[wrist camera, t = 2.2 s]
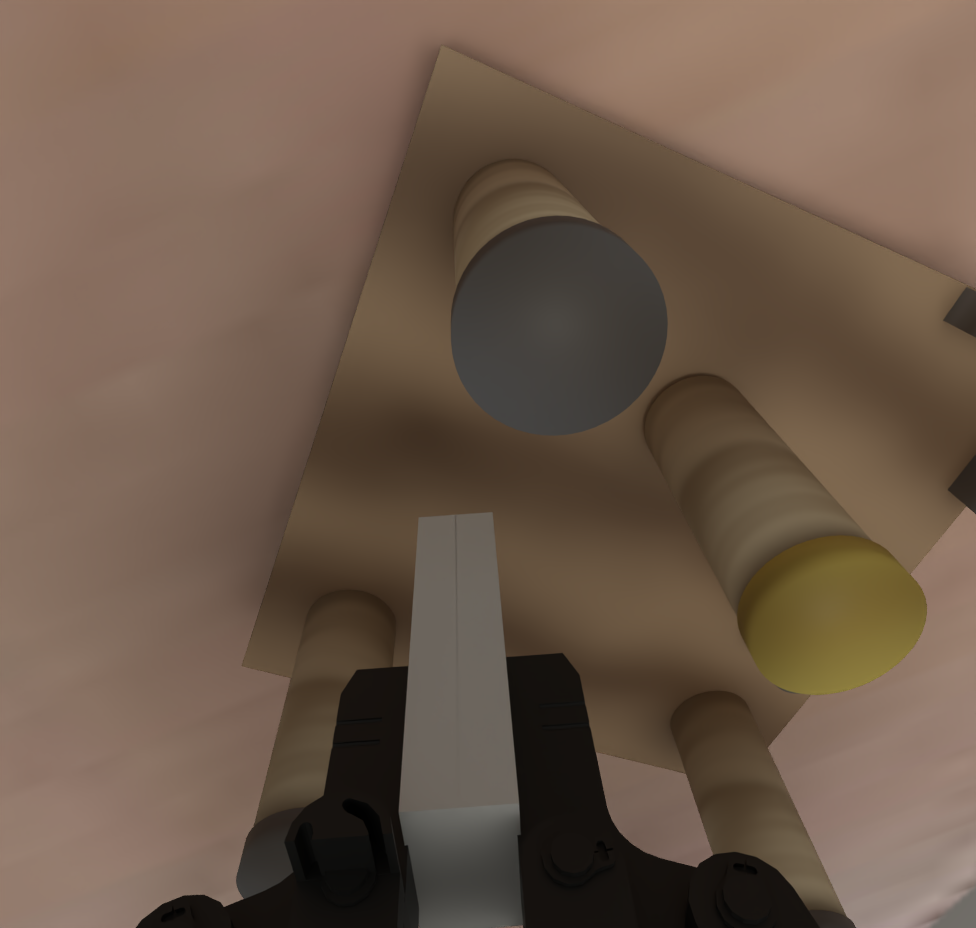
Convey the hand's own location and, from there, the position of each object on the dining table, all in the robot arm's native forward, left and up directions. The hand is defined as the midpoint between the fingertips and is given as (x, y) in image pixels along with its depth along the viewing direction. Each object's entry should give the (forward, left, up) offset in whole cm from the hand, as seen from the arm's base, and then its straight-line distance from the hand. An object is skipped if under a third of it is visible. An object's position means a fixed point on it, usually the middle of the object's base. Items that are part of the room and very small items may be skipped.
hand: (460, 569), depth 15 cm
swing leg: (0, -10, -6) cm, 12 cm away
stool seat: (-1, -6, -9) cm, 11 cm away
